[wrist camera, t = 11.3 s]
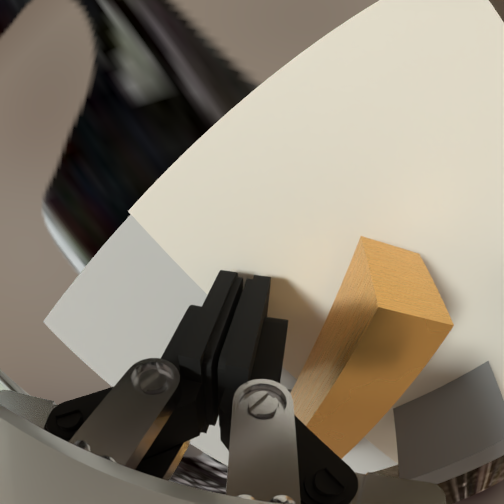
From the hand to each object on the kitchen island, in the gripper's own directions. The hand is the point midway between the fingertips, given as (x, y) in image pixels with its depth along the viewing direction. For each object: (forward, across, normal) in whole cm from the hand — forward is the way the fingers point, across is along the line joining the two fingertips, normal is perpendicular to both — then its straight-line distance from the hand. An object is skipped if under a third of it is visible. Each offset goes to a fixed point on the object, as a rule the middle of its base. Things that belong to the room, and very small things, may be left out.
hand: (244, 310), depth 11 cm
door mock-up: (+3, -4, +5) cm, 8 cm away
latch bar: (-1, -3, +3) cm, 4 cm away
